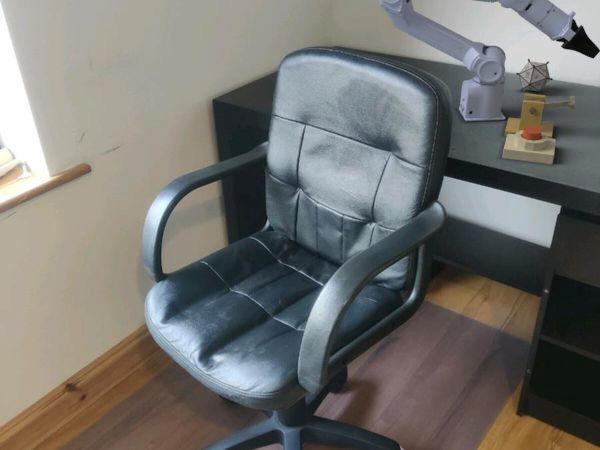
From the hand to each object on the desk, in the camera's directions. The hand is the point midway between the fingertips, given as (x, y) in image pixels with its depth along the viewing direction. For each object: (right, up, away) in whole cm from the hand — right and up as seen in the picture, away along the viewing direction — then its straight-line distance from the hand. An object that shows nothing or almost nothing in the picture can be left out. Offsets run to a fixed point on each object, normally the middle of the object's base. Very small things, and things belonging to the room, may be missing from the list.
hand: (592, 51), depth 136 cm
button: (-16, -20, -6) cm, 26 cm away
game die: (-4, -3, +26) cm, 27 cm away
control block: (-16, -23, -4) cm, 28 cm away
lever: (-9, -13, +1) cm, 15 cm away
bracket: (-12, -17, +6) cm, 21 cm away
